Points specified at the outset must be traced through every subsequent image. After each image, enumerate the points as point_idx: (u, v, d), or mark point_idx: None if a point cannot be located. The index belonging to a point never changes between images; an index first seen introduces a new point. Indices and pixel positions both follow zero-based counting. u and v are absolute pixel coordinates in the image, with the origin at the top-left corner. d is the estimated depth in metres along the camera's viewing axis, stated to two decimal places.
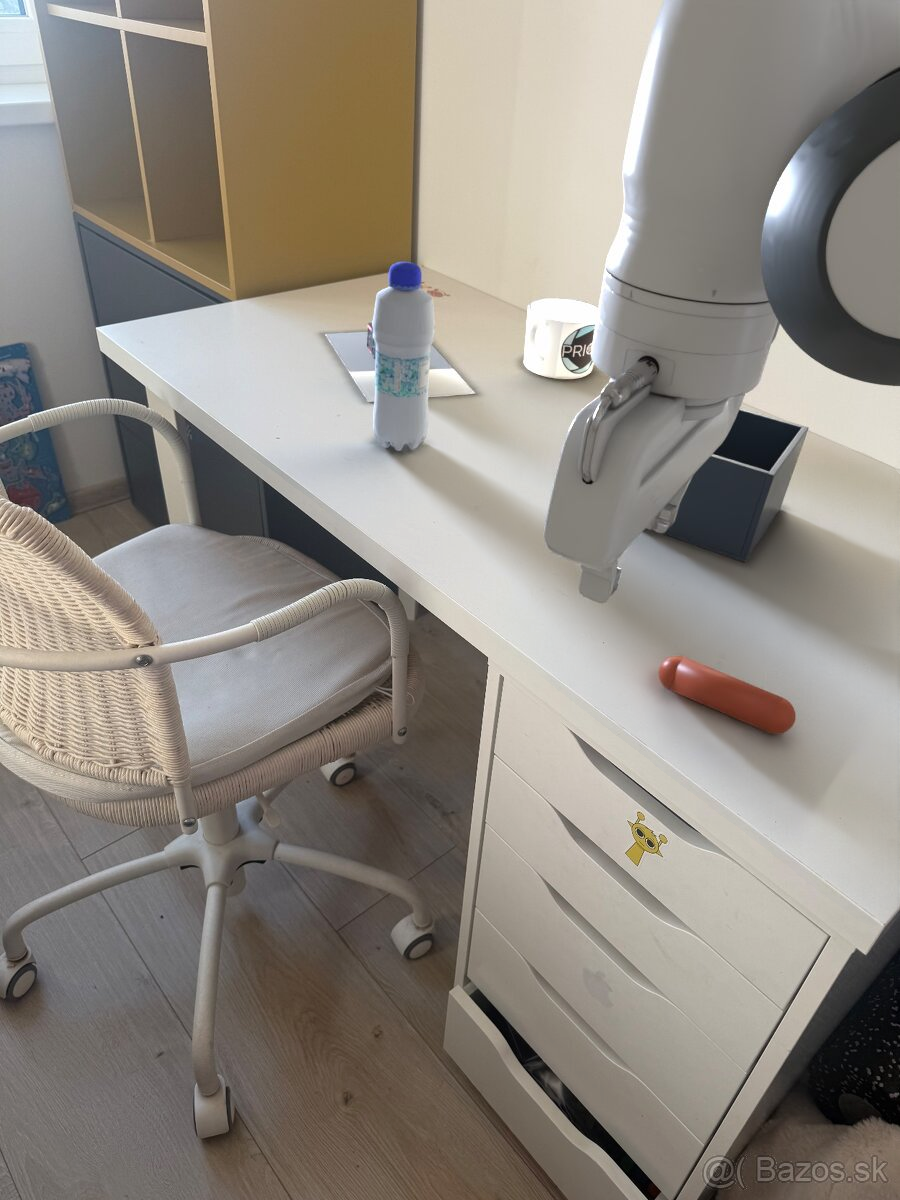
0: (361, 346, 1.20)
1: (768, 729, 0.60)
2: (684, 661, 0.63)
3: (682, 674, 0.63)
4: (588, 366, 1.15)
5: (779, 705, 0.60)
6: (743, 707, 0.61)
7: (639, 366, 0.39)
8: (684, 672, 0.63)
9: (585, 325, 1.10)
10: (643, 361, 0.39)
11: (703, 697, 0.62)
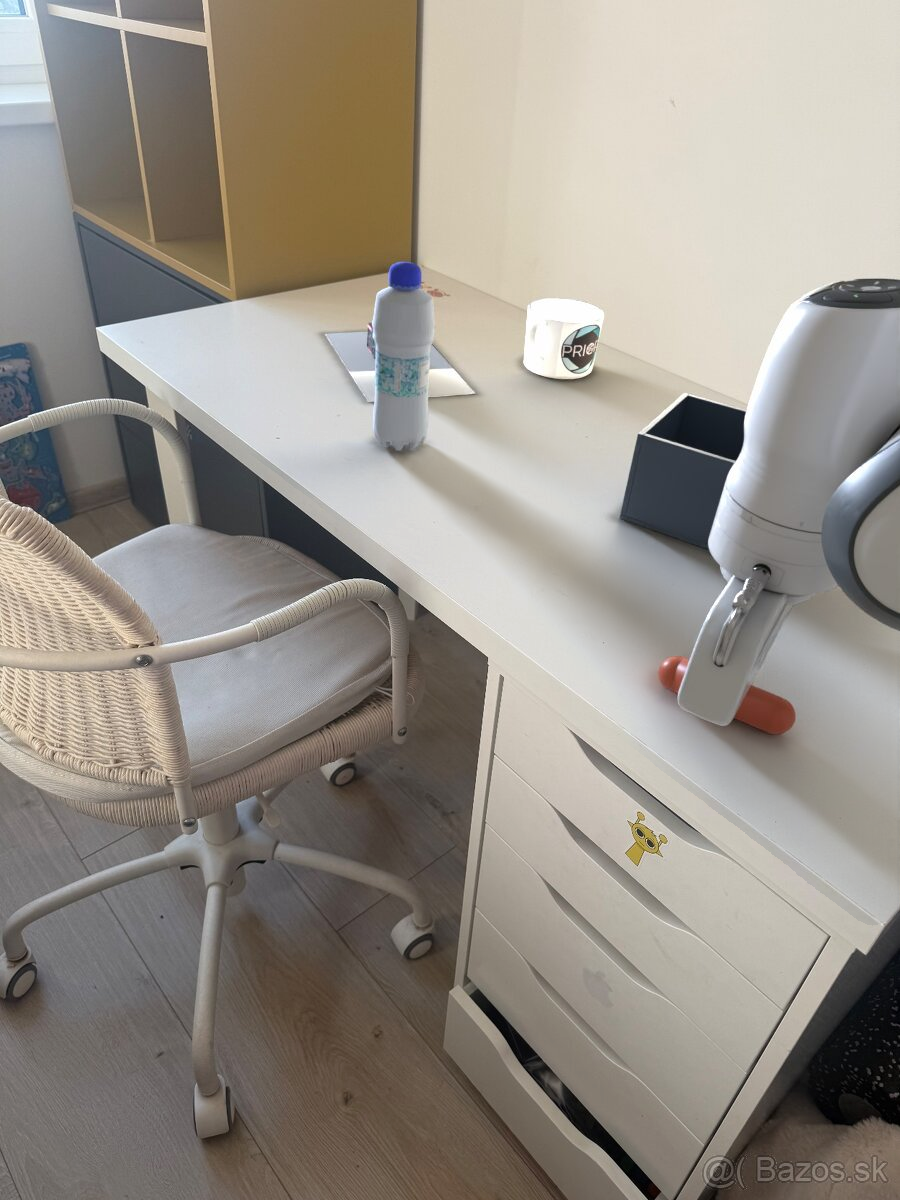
0: (361, 346, 1.20)
1: (768, 729, 0.60)
2: (684, 661, 0.63)
3: (682, 674, 0.63)
4: (588, 366, 1.15)
5: (779, 705, 0.60)
6: (743, 707, 0.61)
7: (758, 576, 0.50)
8: (684, 672, 0.63)
9: (585, 325, 1.10)
10: (760, 569, 0.51)
11: None
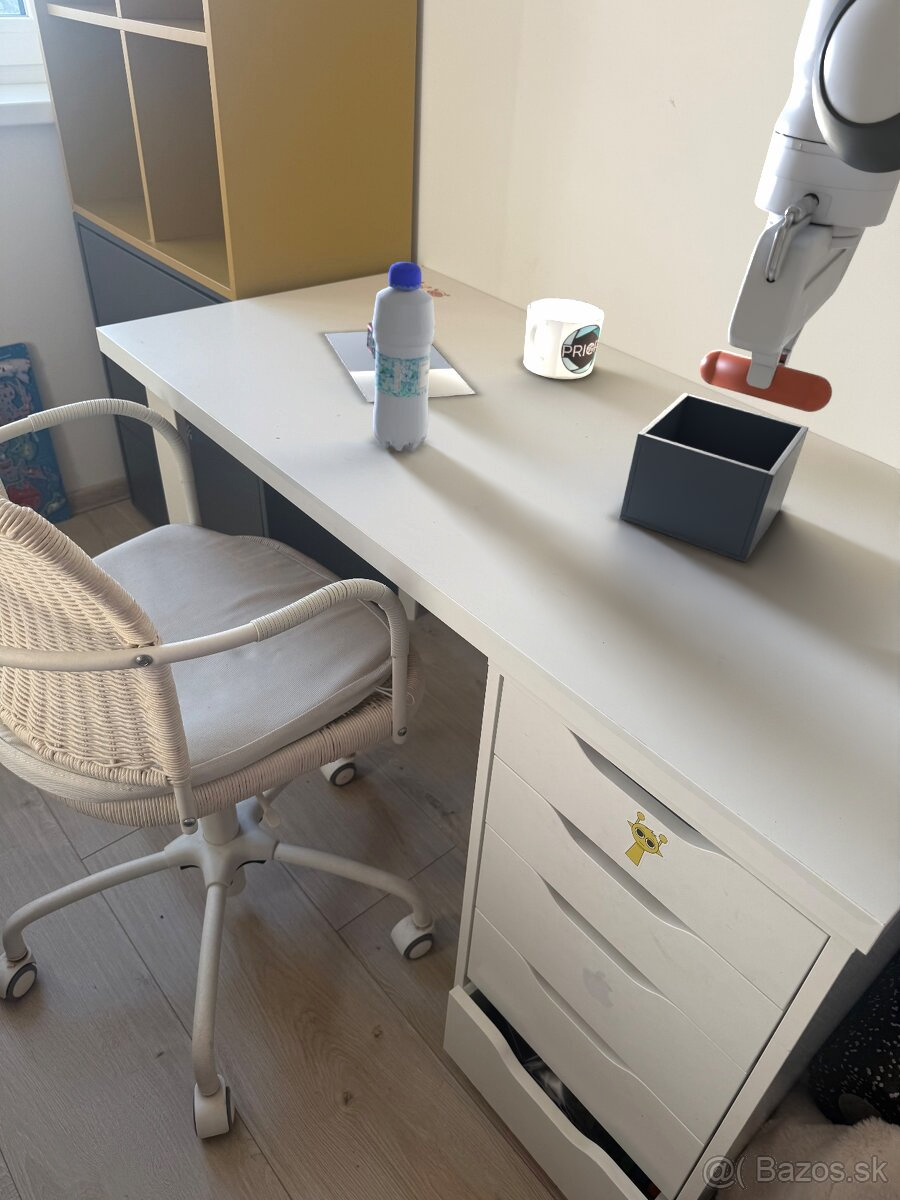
0: (361, 346, 1.20)
1: (806, 404, 0.64)
2: (725, 352, 0.66)
3: (723, 362, 0.66)
4: (588, 366, 1.15)
5: (817, 379, 0.63)
6: (782, 384, 0.64)
7: (808, 197, 0.53)
8: (725, 360, 0.66)
9: (585, 325, 1.10)
10: (808, 196, 0.54)
11: (743, 381, 0.65)
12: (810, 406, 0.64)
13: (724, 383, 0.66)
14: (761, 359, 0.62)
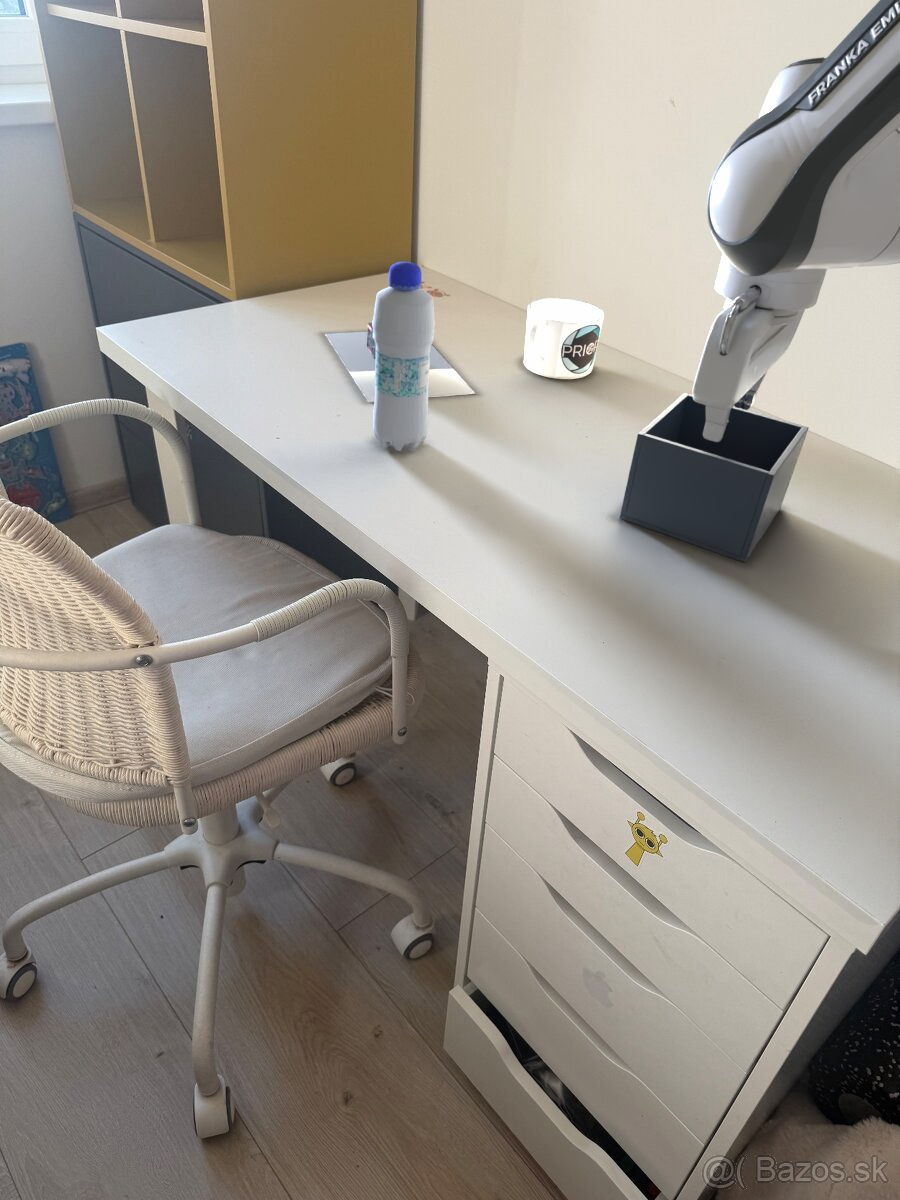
0: (361, 346, 1.20)
1: None
2: None
3: None
4: (588, 366, 1.15)
5: None
6: None
7: (752, 289, 0.69)
8: None
9: (585, 325, 1.10)
10: (753, 287, 0.69)
11: None
12: None
13: None
14: (713, 418, 0.76)
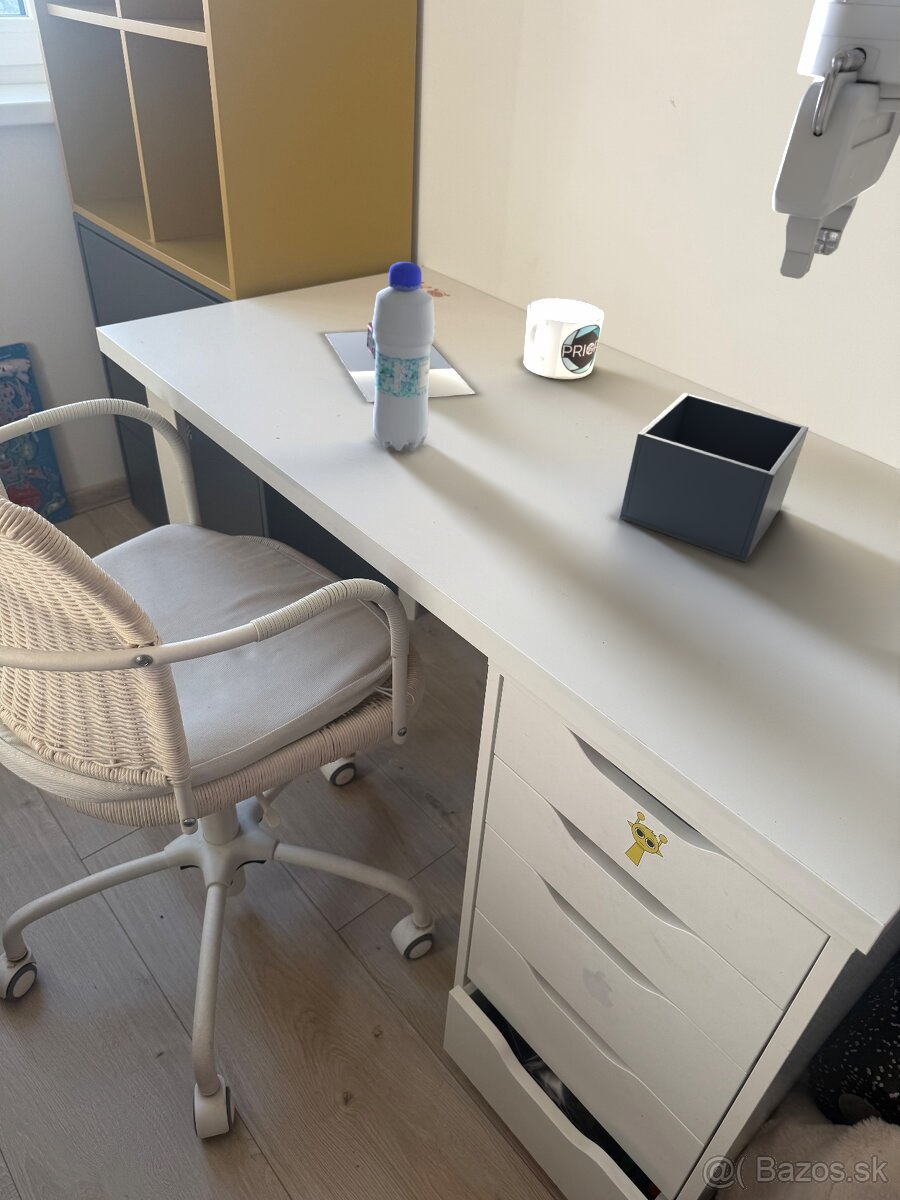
0: (361, 346, 1.20)
1: None
2: None
3: None
4: (588, 366, 1.15)
5: None
6: None
7: (855, 49, 0.52)
8: None
9: (585, 325, 1.10)
10: (855, 49, 0.52)
11: None
12: None
13: None
14: (795, 244, 0.59)
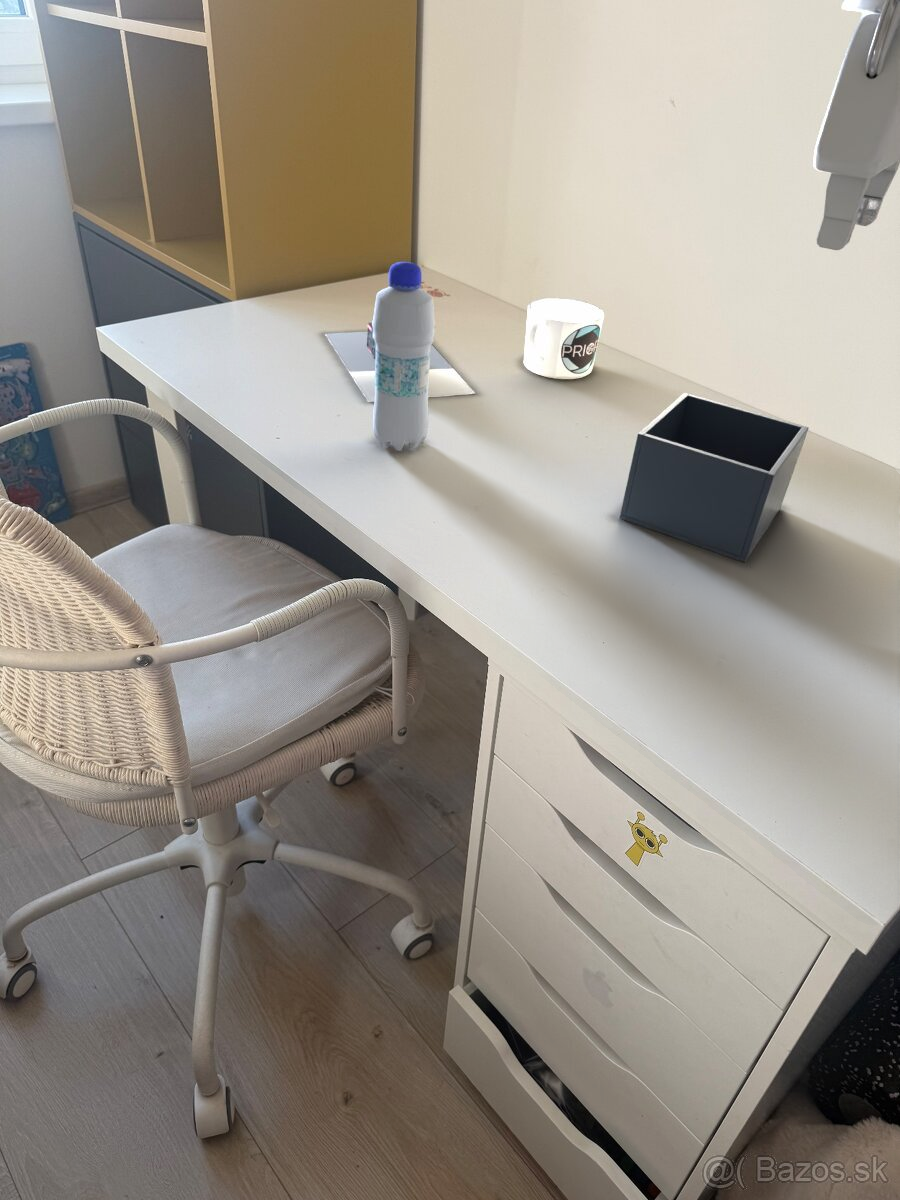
0: (361, 346, 1.20)
1: None
2: None
3: None
4: (588, 366, 1.15)
5: None
6: None
7: None
8: None
9: (585, 325, 1.10)
10: None
11: None
12: None
13: None
14: (836, 210, 0.51)
